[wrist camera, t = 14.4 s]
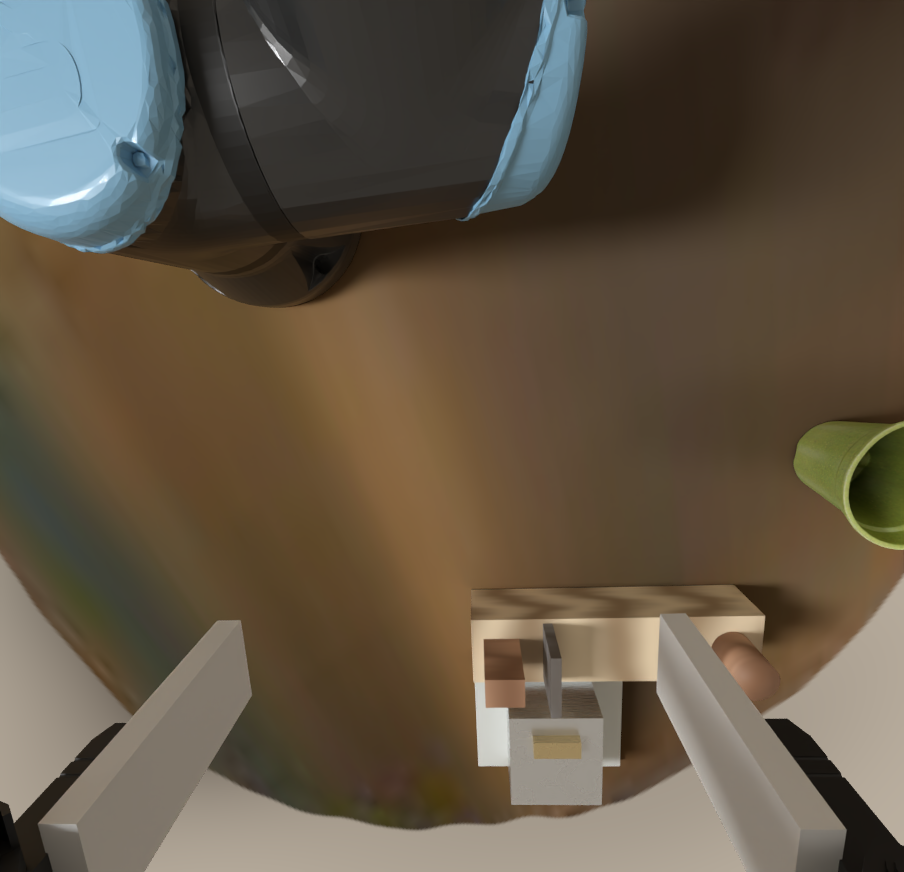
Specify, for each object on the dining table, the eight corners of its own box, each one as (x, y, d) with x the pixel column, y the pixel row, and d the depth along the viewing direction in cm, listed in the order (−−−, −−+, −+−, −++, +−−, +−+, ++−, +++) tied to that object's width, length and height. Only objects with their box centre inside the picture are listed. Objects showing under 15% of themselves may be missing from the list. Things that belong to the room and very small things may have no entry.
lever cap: (505, 678, 47) (509, 726, 42) (589, 677, 47) (605, 725, 41) (507, 757, 49) (511, 813, 44) (588, 757, 49) (603, 813, 43)
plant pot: (748, 452, 42) (816, 482, 34) (843, 377, 41) (940, 389, 32) (813, 527, 44) (895, 575, 35) (908, 457, 42) (1018, 490, 33)
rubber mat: (478, 759, 50) (478, 766, 50) (474, 664, 48) (474, 670, 47) (617, 759, 50) (619, 766, 49) (620, 662, 47) (622, 668, 46)
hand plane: (473, 646, 48) (473, 728, 38) (471, 589, 46) (470, 659, 37) (729, 643, 46) (797, 726, 37) (733, 584, 45) (805, 655, 35)
